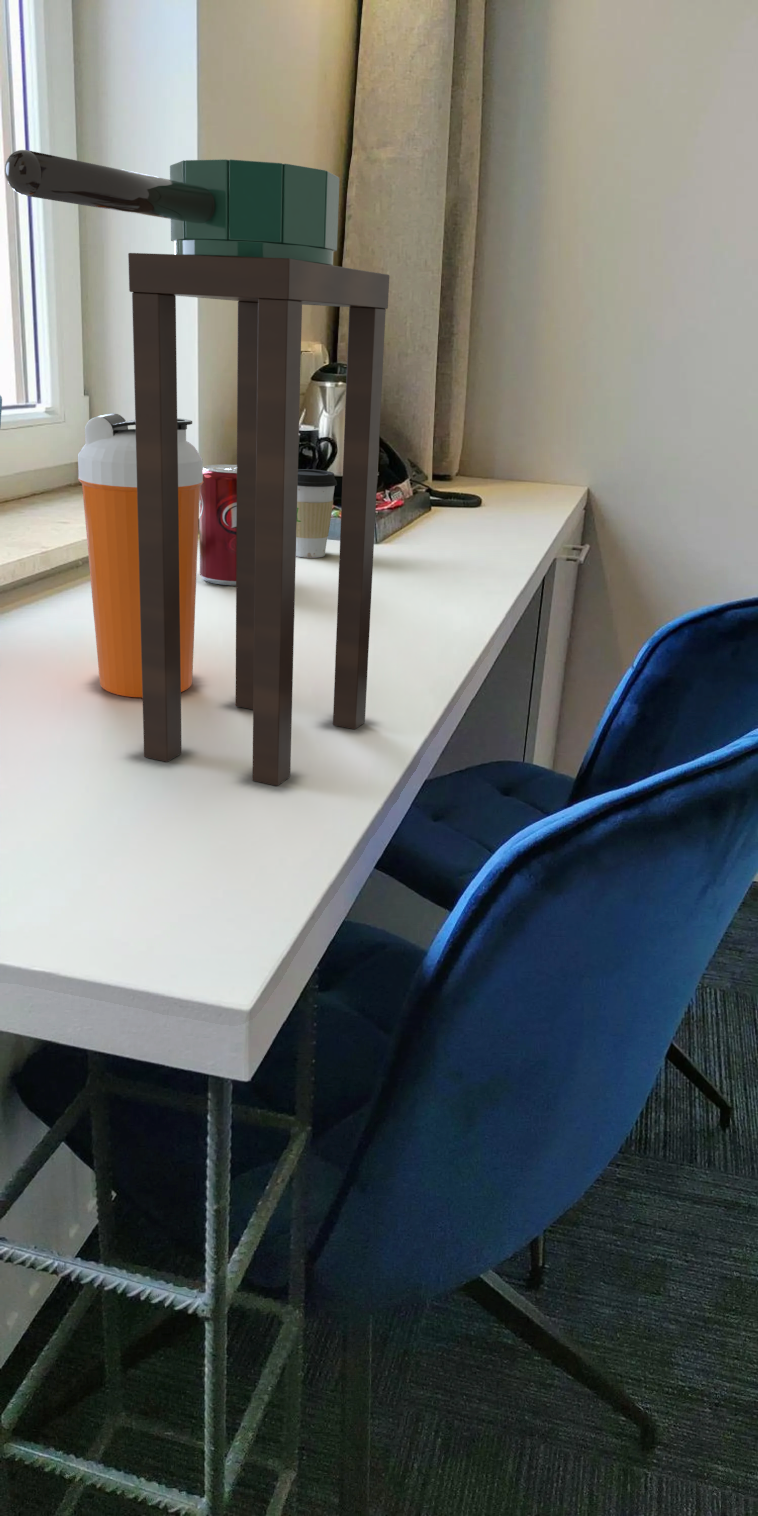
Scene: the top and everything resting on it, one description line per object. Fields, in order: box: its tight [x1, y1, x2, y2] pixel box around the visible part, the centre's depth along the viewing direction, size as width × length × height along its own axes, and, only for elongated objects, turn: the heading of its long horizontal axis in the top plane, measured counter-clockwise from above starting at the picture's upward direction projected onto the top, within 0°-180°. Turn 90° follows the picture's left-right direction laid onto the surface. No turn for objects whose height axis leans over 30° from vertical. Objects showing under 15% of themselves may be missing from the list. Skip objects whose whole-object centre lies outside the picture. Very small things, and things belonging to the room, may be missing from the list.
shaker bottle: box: [77, 412, 204, 699], centre depth 83 cm, size 9×9×20 cm
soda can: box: [198, 463, 237, 587], centre depth 121 cm, size 7×7×12 cm
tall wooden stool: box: [127, 252, 390, 787], centre depth 71 cm, size 14×10×30 cm
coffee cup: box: [296, 468, 338, 559], centre depth 137 cm, size 7×7×10 cm
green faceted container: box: [4, 149, 340, 266], centre depth 57 cm, size 22×9×5 cm, turn 150°
